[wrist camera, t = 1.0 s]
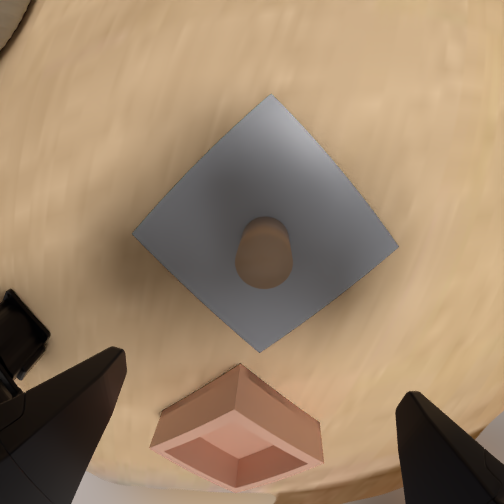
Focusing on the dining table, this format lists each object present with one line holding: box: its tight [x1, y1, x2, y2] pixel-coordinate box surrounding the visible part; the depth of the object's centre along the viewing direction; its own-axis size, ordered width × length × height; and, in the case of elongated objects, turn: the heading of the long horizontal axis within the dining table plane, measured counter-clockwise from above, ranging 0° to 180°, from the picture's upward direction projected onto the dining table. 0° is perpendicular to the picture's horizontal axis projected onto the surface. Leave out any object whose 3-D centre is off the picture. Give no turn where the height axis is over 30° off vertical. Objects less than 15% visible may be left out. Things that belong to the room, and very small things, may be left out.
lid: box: [132, 94, 399, 353], centre depth 18 cm, size 13×13×5 cm
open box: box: [149, 364, 324, 493], centre depth 24 cm, size 11×11×5 cm
